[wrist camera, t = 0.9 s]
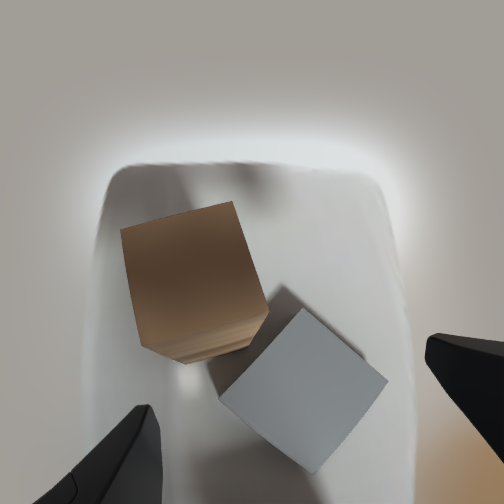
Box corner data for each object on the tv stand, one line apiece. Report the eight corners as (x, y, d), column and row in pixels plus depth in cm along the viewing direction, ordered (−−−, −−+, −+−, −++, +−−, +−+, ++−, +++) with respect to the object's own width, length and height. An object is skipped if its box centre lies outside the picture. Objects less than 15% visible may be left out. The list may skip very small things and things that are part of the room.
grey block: (305, 466, 20) (313, 474, 18) (218, 397, 22) (217, 399, 20) (374, 382, 23) (388, 381, 21) (295, 314, 25) (303, 307, 23)
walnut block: (247, 347, 24) (269, 311, 12) (185, 364, 23) (141, 345, 11) (229, 288, 25) (232, 201, 13) (169, 304, 24) (120, 229, 13)
